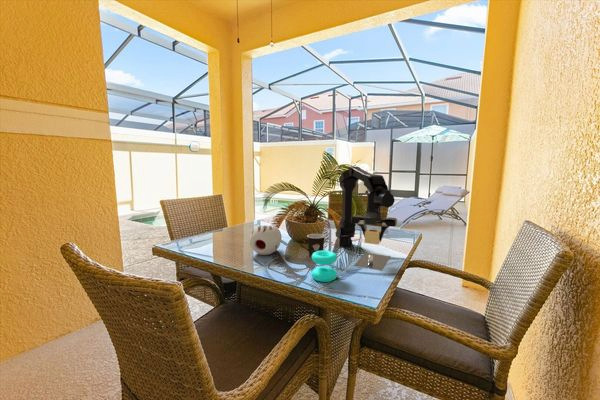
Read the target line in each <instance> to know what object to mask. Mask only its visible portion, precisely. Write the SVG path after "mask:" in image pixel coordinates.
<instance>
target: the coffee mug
mask: <svg viewBox="0 0 600 400" xmlns="http://www.w3.org/2000/svg"><path fill="white" fill-rule="evenodd" d="M301 241H305V242H306V243H307V247H308V248H307V247H305V246H303V245H302V244H301ZM298 243H299V245H300V246H301V247H302V248H303V249H305V251H307V252H308V256H309V258H312V254H313V253H314V252H316V251H324V246H325V245H324V243H325V235H324V234H321V233H310V234H308V235H306V238H300V240H299V241H298Z"/></svg>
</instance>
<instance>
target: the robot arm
mask: <svg viewBox="0 0 600 400" xmlns="http://www.w3.org/2000/svg"><path fill="white" fill-rule="evenodd" d="M358 181H361V182H362V183H363V186H364V187H365V188H366V190H365V191H364V193H365V194H366V195H367V196H366V197H367V199H366V200H367V201H366V211H365V213H364V216H363V215H359V214H355V215H353V212H352V211H353V210H352V209H353V191H354V189H355V188H356V186H357V182H358ZM338 182H339V187H340V189H341V190H342V206H341V207H342V211H341V212H342V213H341V214H342V216H341V217H342V218H341V220H340V221H339V222H338V227H337V229H336V231H335V237H336V238H337V240H338V241H337V242H338V244H337V248H338V249H340V248H341V247H342V248H351V247H352V246H353V239H352V238H354V237H355V234H356V226H359V228H360V229H361V231H362V235H363V238H365V231H366V230H367V229H368V225H373V226H375V225H377V224H382V225H381V226H380V230H381V234H380V241H381V242H382V240H383V238H384V235H385V232H386V230H387V229H389V228H390V227H394V228H395V227H396V226H397V225H398V219H397V218H396V217H389V216H387V217H386V218H383V214H382V211H381V210H382V207H383V208H387V209H388V208H392V206H393V205H394V204H395V197H394V195H393V194H392V193H391V190H390V189H389V187H388V185H387V183H386V181H385V177H384V176H383V175H381V174H376V173H375V174H374V173H370V172H368V171H367V170H364V169H362V168H361V167H359V166H350V167H349V168H348V169H346V170H345V171H343V172H342V173H341V174H340V175H339V178H338Z"/></svg>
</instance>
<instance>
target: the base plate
mask: <svg viewBox="0 0 600 400" xmlns="http://www.w3.org/2000/svg"><path fill="white" fill-rule="evenodd" d="M390 258H391V256H390V255H384V254H377V253H371V252H364V253H363V254H362V256H361V257H360V258H359V259H358V260H357V261H356V262H355V263H354V265H353V266H354V267H357V268H358V267H359V268H365V269H369V270H376V271H383V270H384V269H385V267H386V265H388V262H389V260H390Z"/></svg>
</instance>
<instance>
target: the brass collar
mask: <svg viewBox="0 0 600 400" xmlns="http://www.w3.org/2000/svg"><path fill="white" fill-rule="evenodd" d="M380 234H381V229H375V228H367V230H366V231H365V237H364V243H365V244H370V245H371V244H373V245H380V244H381V242H382V240H381V241H380Z"/></svg>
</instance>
